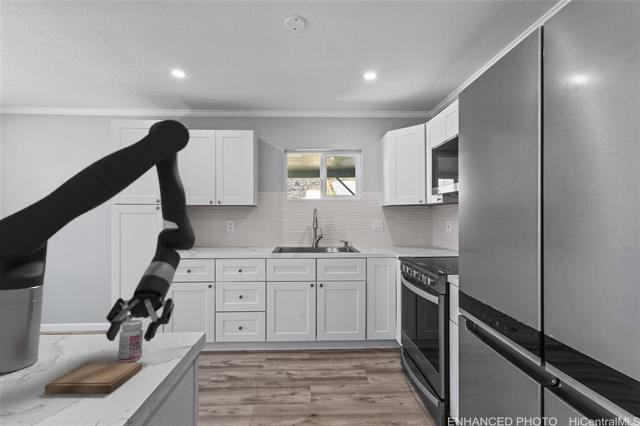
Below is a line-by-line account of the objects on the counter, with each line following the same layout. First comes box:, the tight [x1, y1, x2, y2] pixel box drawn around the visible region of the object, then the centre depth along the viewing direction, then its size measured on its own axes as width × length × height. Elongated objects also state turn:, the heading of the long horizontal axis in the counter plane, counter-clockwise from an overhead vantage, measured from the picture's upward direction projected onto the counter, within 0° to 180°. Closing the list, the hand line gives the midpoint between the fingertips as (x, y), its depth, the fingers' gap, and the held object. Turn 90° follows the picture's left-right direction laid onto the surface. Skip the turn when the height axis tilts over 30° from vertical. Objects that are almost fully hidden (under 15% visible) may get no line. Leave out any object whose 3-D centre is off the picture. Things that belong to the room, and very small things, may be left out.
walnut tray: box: [43, 362, 143, 395], centre depth 61 cm, size 12×10×2 cm
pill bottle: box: [117, 319, 144, 363], centre depth 72 cm, size 5×5×8 cm
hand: (128, 339), depth 71 cm, fingers open, 8 cm apart
